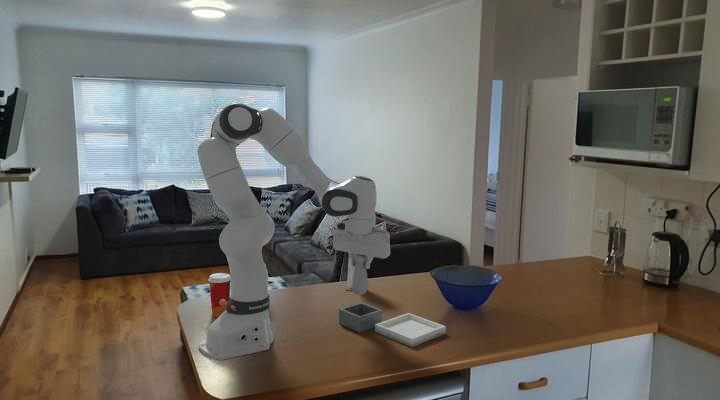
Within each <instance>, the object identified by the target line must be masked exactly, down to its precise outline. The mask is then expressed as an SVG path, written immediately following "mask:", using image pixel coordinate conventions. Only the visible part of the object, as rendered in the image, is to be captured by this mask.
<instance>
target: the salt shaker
mask: <svg viewBox="0 0 720 400" xmlns="http://www.w3.org/2000/svg"><path fill="white" fill-rule="evenodd" d="M367 260H368V259H367V256H366V255H360V254H356V255H355V256H354V261H355V262H356V264H355V269H354V273H353V278H352V283H351V288H352V290H353V291H352V293H353V294H354V295H366V293H367V291H368V289H369V286H370V284H369V280H368V272H367V269H365V268H364V263H366V262H367Z"/></svg>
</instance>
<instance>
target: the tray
mask: <svg viewBox="0 0 720 400" xmlns="http://www.w3.org/2000/svg"><path fill="white" fill-rule="evenodd" d="M446 327H447V326H446V325H443V324H440V323H438V322H435V321H433V320H429V319H426V318H424V317H421V316H418V315H415V314H413V313H410V312H406V313H405V314H401V315H398V316H395V317H393V318H388V319H387V320H384V321H383V320H382V322H380V323H378V324H375V327H374V333H378V334H380V335H382V336H385V337H386V338H388V339H391V340H394V341H396V342H399V343H400V344H403V345H406V346H409V347H411V348H413V347H416V346H418V345H421V344H423V343H425V342H428V341H431V340H433V339H436V338H438V337H441V336H443V335H445V334H446V331H447V329H446Z"/></svg>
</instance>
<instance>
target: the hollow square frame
mask: <svg viewBox="0 0 720 400" xmlns="http://www.w3.org/2000/svg"><path fill="white" fill-rule="evenodd" d="M380 322H383V310H382V309H380V308H378V307H376V306H372V305H370V304H367V303H364V302H358V303H354V304H352V305H349V306H345V307H342V308H339V309H338V324H340V325H342V326H344V327H346V328H349V329H351V330H353V331H356V332H357V333H361V332H364V331H367V330H370V329H374V328H375V324H378V323H380Z"/></svg>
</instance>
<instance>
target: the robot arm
mask: <svg viewBox="0 0 720 400" xmlns="http://www.w3.org/2000/svg"><path fill="white" fill-rule="evenodd" d="M249 139H250V140H254V141H256V142H257V143H258V144H260V145H261V146H262V147H263V148H264V150H265V151H266V152H267V153H268V154H269V155H270V156H271V157H272V158H273V159H274V160H276V162H278V164H280V165H282V166H283V167H285V168H288V169H290V170H293V171H295V172H296V173H297V174H299V176H300V177H302V179H303V180H304V181H305V182H306V183H307V184H308V185H309V186H310V187H311V189H312V190H313V192H314V193H315V195H316V197H317V200H318V201H317V202H318V204H319V205H320V206H321V208H322V210H323V211H324V213H326V214H327V215H328V216H331V217H335V218H337V217H338V218H339V217H344V216H348V219H344V220H342V221H338V222H335V224H334V228H335V230H334V231H333V237H332V248H333V249H334V250H335V251H340V252H346V253H348V259H349V258H350V260H351V266H355V264H356V262H355V261H354V255H355V254H360V255H366V256H367V262H365V263H364V268H365V269H366V270H369V269H370V268H371V263H372V261H373V260H374V258H376V259H377V258H378V259H387V258H388V257H389V256H391V242H390V240H391V234H390V232H389V231H388V230H387V229H384V228H379V227H376V222H377V221H376V218H377V217H376V206H377V185H376V182H375V181H374V180H373V179H371V178H369V177H367V176H362V175H353V176H351V177H350V178H349V179H347V180H345V181H344V182H342V183H339V182H338V181H335V180H333V179H331V178H330V177H328V176H327V175H326V173H324V171H323V170H322V169H321V168H320V167H319V166H318V164H316V163H315V162H314V160H313V159H312V157H311V154H310V152H309V149H308V146H307V144H306V143H305V141H304V139H303V138H302V136H301V135H300V134H299V132H298V131H297V130H296V129H295V128H294V126H293V125H292V124H291V123H290V122H289V121H288V120H287V119H286V118H285V117H283V116H282V115H281V114H280V113H279V112H277V111H276V110H275V109H273V108H271V107H264V108H261V109H256V108H253V107H250V106H248V105H246V104H244V103H241V102H240V103H239V102H236V103H235V102H234V103H230V104H228V105H226V106H225V107H224V108H223V109H222V110H221V111H219V112H218V114H217V115H216V116H215V119H214V121H213V122H212V124H211V131H210V137H208V138H207V139H205V140H203V141H202V142H200V144H199V145H198V146H197V157H198V162H199V166H200V170H201V172H202V175H203V178H204V180H205V182H206V185H207V187H208V189H209V191H210V194H211V196H212V200H214V204H215V205H216V206H217V207H218V208H219V209H221V210H222V211H223V213H224V214H225V216H227V218H228V219H229V221H230V222H229V223H227V224H226V226H225V227H224V228H223V229H222V231H221V232H220V234H219V237H218V238H219V239H218V243H219V247H220V249H221V251H222V252H223V253H224V254H225V257H226V259H227V263H228V269H229V275H230V277H231V280H230V299H229V301H228V302H227V301H226V300H224V299H221V300H220V301H219V303H220V305H221V306H223V307H226V310H225V311H224V312H223V313H222V314H221V315H220V316H219V317H218V318H217V317H216V319H214V320H213V322H212V323H211V324H210V325H209V326H208V328H207V331H206V339H205V340H202V341H200V342H199V343H198V350H199V351H200V352H201V353H202V354H204V355H205V356H206V357H208V358H211V359H216V360H228V359H232V358H237V357H241V356H245V355H246V356H247V355H249V354H254V353H260V352H264V351H268V350H270V348H271V344H273V342H274V341H275V336H274V333H273V331H272V326H271V320H270V312H269V311H270V306H271V305H270V303H271V301H270V300H271V298H270V294H269V272H268V268H267V266H266V267H265V265H264V263H265V261H264V258H263V253H262V250H263V247H264V246H265V245H268V243H269V242H270V241H271V239H272V238H273V235H275V234H274V233H275V230H276V226H275V221H274V220H273V218H272V217H271V216H270V215H269V214H268V213H267V212H266V211H265V210H264V208H263V207H262V206H261V204H260V202H259V201H258V199H257V198H256V196H255V194H254V192H253V191H252V189H251V187H250V185H249V183H248V180H247V177H246V176H245V173H244V171H243V167H242V166H241V163H240V161H239V159H238V157H237V147H238V146H239V145H241V144H243V143H245V141H247V140H249Z"/></svg>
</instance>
